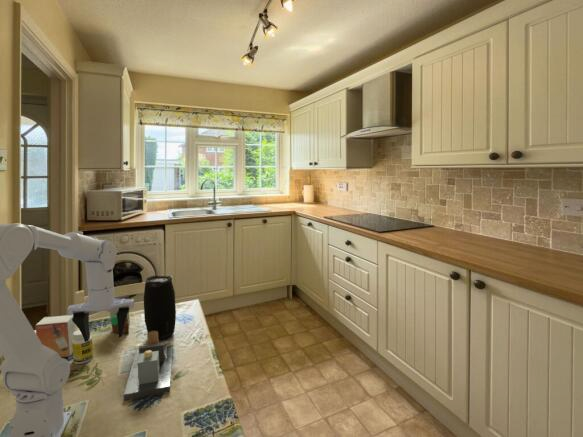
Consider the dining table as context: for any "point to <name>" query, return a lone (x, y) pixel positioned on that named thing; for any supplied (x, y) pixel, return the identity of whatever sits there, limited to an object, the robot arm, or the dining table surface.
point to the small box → (57, 333)
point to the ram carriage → (153, 345)
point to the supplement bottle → (81, 348)
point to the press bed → (152, 388)
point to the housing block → (148, 367)
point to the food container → (115, 322)
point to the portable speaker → (160, 306)
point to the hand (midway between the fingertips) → (104, 337)
